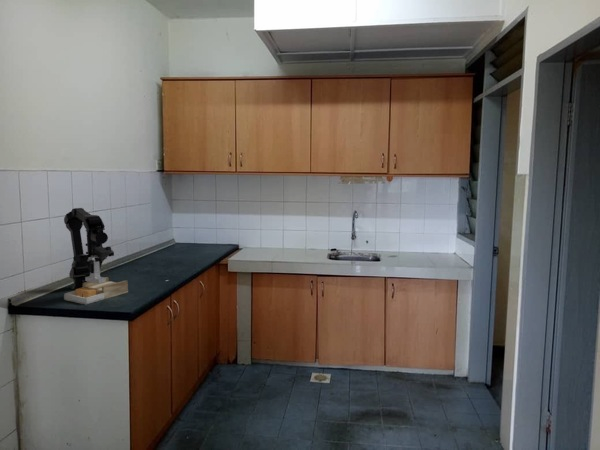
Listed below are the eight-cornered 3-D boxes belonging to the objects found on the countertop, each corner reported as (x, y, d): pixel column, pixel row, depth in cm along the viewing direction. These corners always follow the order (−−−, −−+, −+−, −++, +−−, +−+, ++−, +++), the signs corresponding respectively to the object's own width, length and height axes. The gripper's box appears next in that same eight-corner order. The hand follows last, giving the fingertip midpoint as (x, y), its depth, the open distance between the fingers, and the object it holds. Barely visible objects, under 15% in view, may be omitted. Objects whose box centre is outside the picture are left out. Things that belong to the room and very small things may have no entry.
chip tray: (64, 299, 208) (63, 293, 207) (83, 294, 216) (82, 288, 216) (85, 304, 200) (85, 298, 200) (104, 299, 209) (104, 293, 209)
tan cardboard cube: (90, 296, 210) (83, 298, 207) (90, 288, 210) (83, 290, 206) (96, 297, 209) (88, 299, 205) (95, 289, 208) (88, 291, 205)
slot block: (83, 294, 216) (82, 282, 216) (107, 288, 229) (106, 277, 228) (104, 299, 209) (103, 287, 208) (128, 292, 221) (127, 280, 220)
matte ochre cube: (83, 295, 213) (76, 297, 209) (82, 287, 212) (75, 289, 209) (88, 296, 211) (81, 298, 207) (88, 288, 211) (81, 290, 207)
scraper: (85, 280, 213) (84, 261, 212) (92, 279, 217) (91, 259, 216) (98, 283, 209) (97, 263, 207) (106, 281, 212) (104, 261, 211)
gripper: (86, 245, 198) (88, 278, 200) (120, 240, 215) (122, 270, 217) (71, 243, 204) (73, 275, 206) (105, 238, 220) (107, 268, 222)
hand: (95, 272), depth 212 cm, fingers closed on scraper, 3 cm apart
